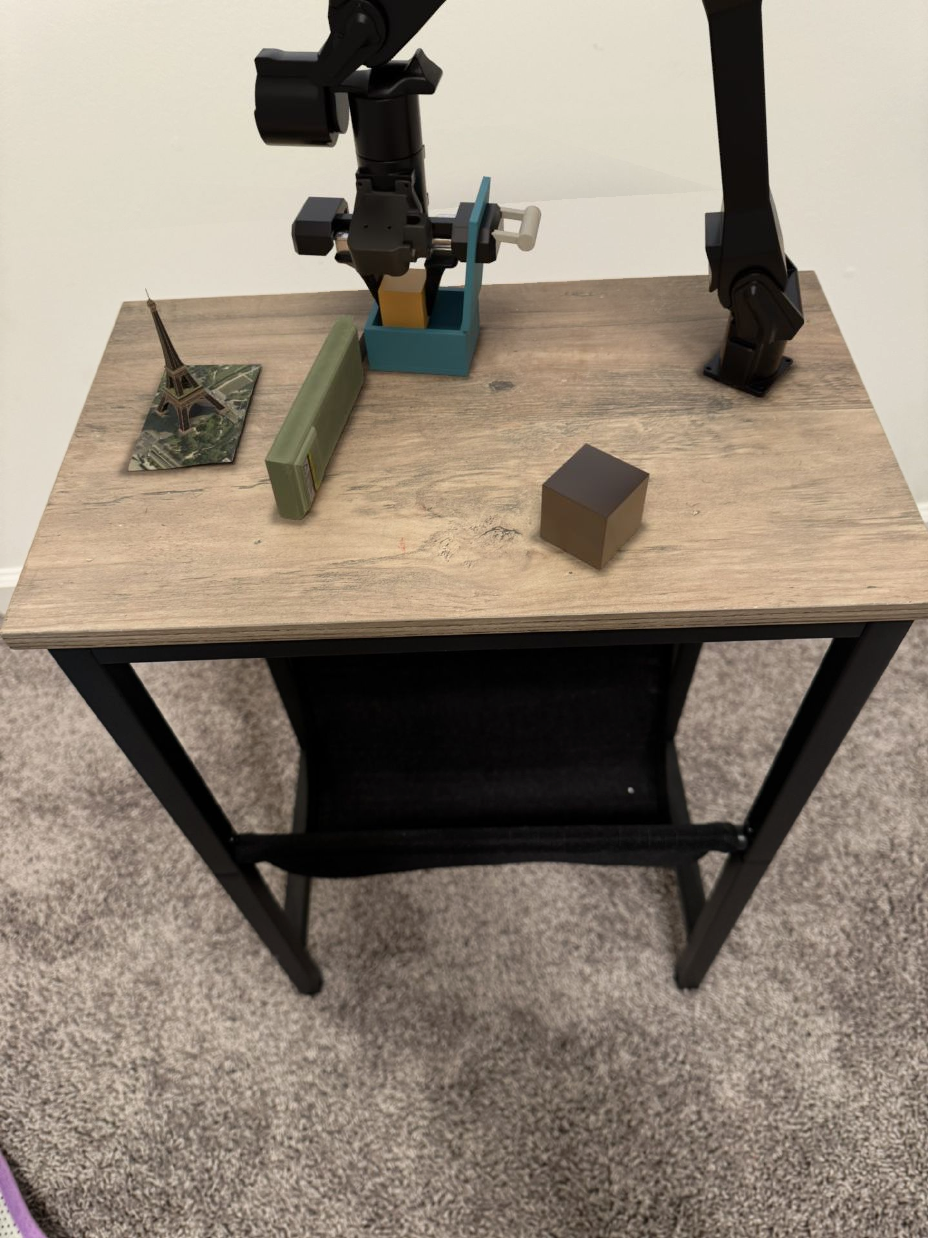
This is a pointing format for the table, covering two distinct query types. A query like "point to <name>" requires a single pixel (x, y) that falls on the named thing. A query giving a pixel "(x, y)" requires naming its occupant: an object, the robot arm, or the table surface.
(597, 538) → the stand
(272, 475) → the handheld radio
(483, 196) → the teal lid with handle
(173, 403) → the eiffel tower figurine
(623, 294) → the table surface
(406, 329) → the teal open box
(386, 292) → the block
